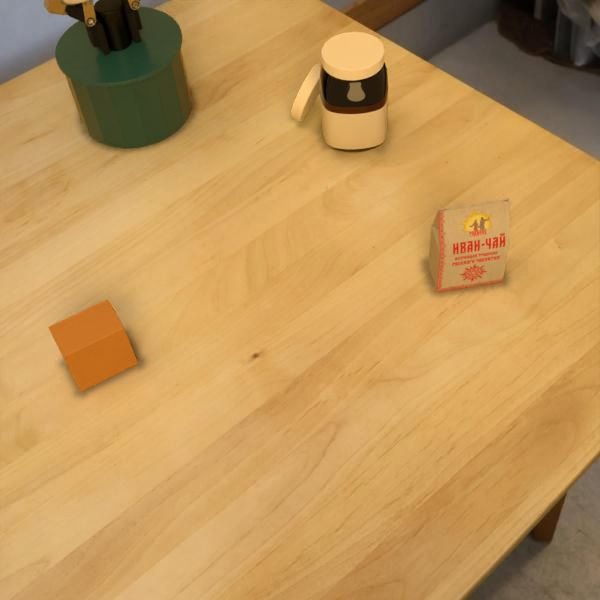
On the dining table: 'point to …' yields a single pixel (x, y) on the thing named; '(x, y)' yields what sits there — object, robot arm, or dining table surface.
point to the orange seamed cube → (94, 345)
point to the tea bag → (469, 245)
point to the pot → (135, 108)
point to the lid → (119, 47)
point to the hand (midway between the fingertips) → (118, 41)
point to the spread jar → (348, 92)
